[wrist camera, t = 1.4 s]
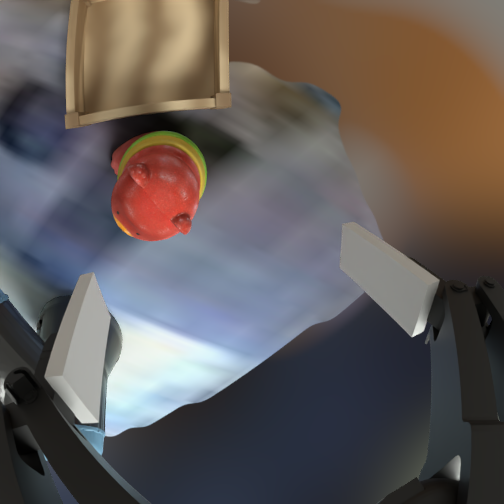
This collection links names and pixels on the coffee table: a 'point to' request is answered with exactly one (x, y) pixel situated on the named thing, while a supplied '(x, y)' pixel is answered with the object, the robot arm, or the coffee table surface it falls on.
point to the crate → (145, 58)
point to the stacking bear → (157, 185)
